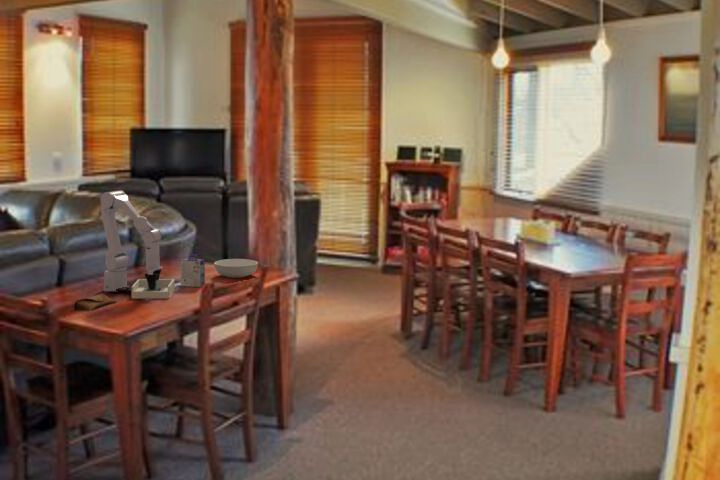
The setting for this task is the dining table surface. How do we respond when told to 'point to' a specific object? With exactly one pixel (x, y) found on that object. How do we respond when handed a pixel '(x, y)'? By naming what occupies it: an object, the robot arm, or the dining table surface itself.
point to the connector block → (155, 286)
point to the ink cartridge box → (193, 272)
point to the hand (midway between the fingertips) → (153, 287)
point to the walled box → (164, 291)
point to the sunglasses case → (93, 302)
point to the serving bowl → (236, 267)
